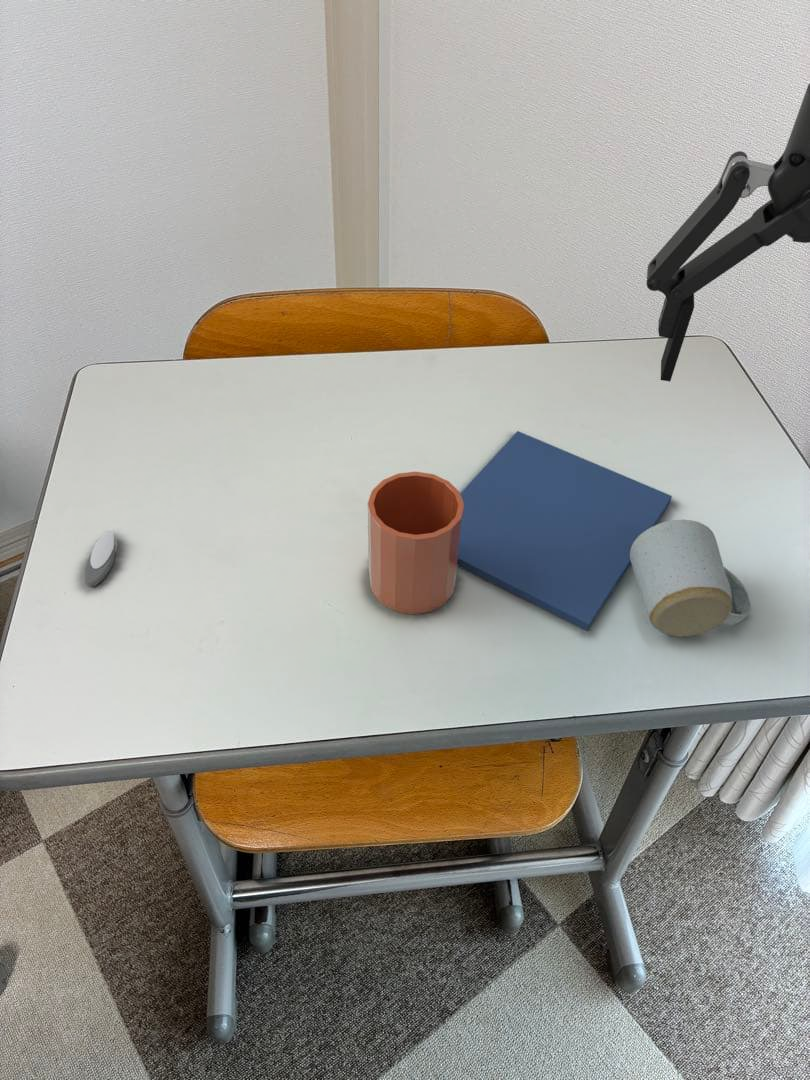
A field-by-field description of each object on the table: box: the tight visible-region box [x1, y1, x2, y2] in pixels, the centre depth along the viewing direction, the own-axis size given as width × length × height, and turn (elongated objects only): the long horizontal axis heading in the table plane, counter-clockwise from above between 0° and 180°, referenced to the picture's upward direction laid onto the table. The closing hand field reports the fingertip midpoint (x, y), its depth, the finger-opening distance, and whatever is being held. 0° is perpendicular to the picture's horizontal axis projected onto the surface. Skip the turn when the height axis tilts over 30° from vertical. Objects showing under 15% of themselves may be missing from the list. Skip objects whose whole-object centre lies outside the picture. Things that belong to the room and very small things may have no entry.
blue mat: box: [458, 430, 673, 631], centre depth 79 cm, size 18×20×1 cm
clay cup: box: [367, 471, 464, 615], centre depth 71 cm, size 8×8×10 cm
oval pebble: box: [84, 530, 118, 587], centre depth 75 cm, size 6×2×1 cm, turn 174°
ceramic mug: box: [630, 519, 752, 637], centre depth 70 cm, size 11×8×8 cm
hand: (754, 385), depth 62 cm, fingers open, 13 cm apart
